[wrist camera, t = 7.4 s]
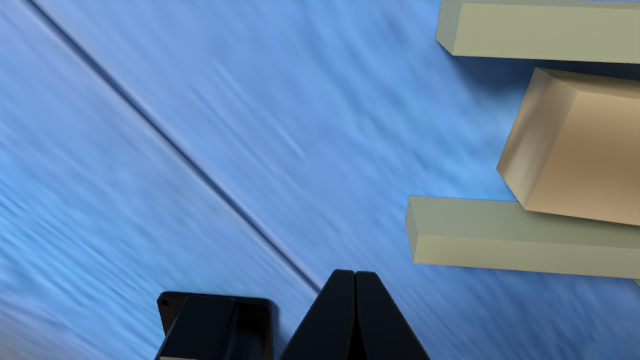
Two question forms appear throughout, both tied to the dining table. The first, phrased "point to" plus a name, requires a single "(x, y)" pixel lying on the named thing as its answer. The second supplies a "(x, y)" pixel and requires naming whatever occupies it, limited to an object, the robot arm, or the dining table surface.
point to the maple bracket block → (576, 147)
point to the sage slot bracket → (510, 217)
